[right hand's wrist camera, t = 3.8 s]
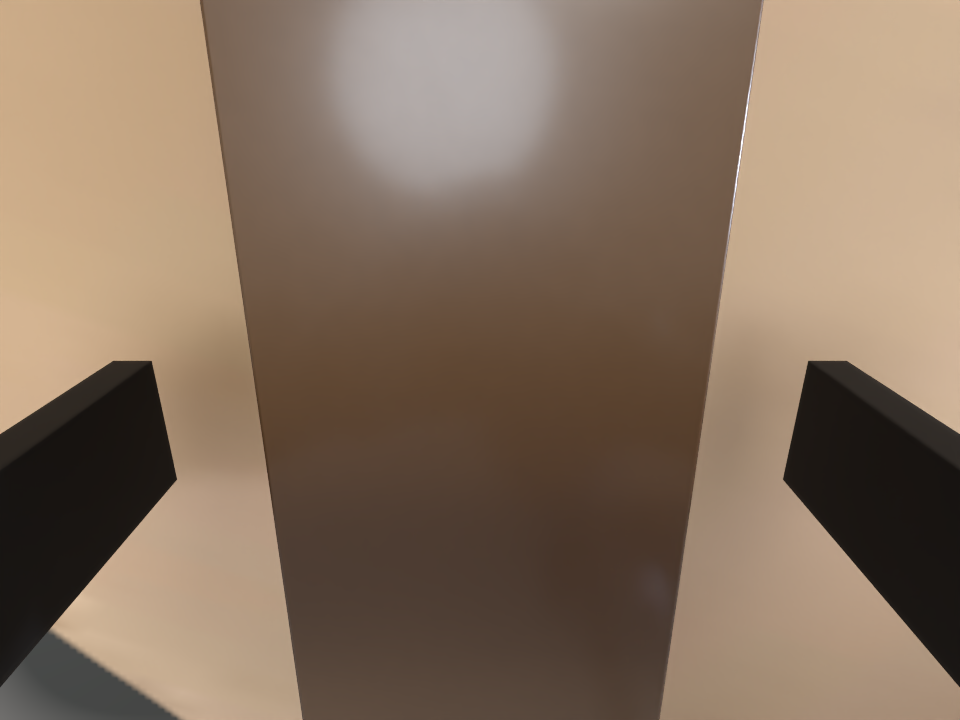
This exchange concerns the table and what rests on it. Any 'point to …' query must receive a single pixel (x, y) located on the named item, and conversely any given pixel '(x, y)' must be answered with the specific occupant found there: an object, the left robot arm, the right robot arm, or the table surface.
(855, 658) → the table surface
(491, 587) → the bar
